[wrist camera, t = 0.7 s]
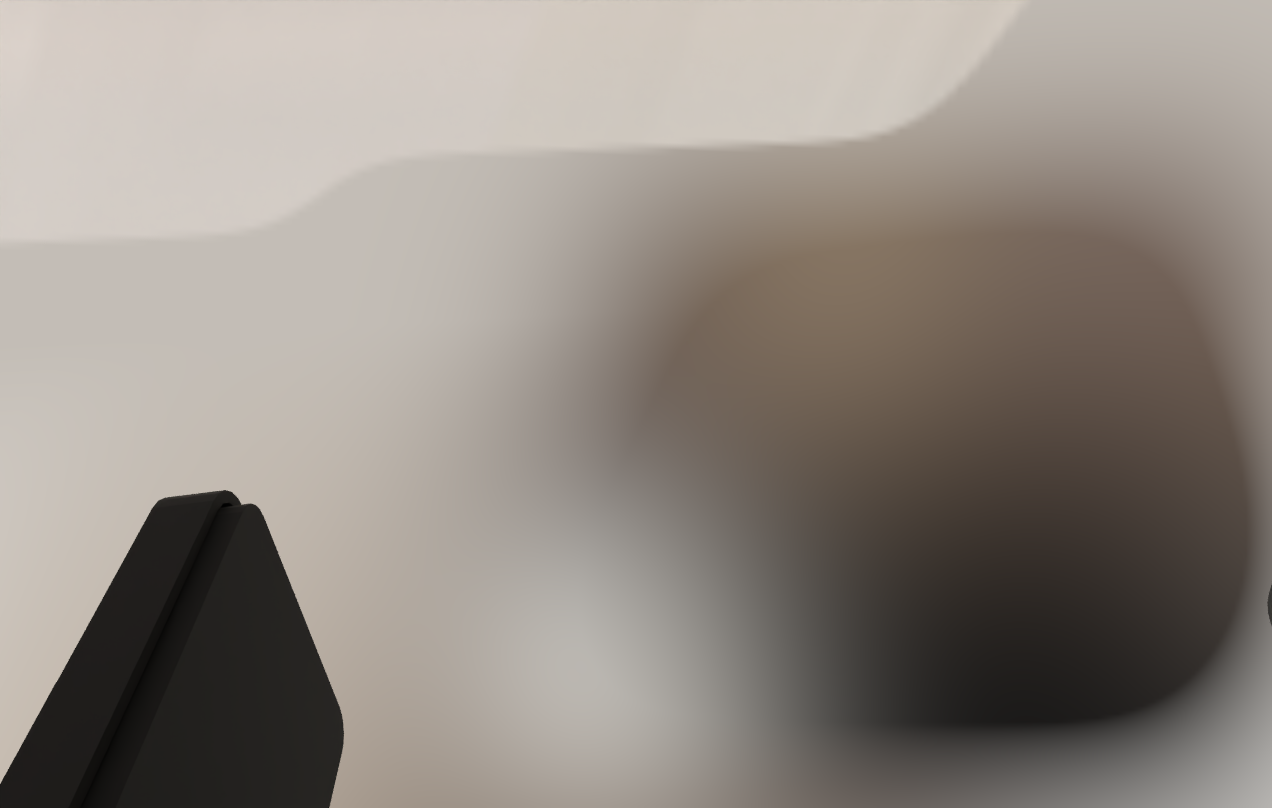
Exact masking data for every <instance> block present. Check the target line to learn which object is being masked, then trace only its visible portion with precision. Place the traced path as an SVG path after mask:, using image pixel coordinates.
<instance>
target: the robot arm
mask: <svg viewBox="0 0 1272 808" xmlns="http://www.w3.org/2000/svg"><path fill="white" fill-rule="evenodd" d="M1268 614H1269V618H1270V622H1271V624H1272V585H1271V589H1270V592H1269V597H1268ZM343 739H344V731H343V719H342V714H341V710H340V707H339V704H338V702H337V699H336V697H335V694H334V692H333V689H332V687H331V685H330V682H329V680H328V677H327V674H326V672H325V670H324V667H323V664H322V662H321V659H320V657H319V654H318V652H317V649H316V647H315V644H314V642H313V639H312V637H311V634H310V632H309V629H308V627H307V624H306V622H305V619H304V617H303V614H302V612H301V609H300V607H299V604H298V602H297V599H296V597H295V594H294V592H293V589H292V587H291V584H290V582H289V579H288V577H287V574H286V572H285V569H284V567H283V564H282V562H281V559H280V557H279V554H278V551H277V549H276V546H275V544H274V542H273V539H272V536H271V534H270V531H269V529H268V526H267V524H266V521H265V519H264V517H263V515H262V513H261V511H260V509H259V508H258V507H257V506H256V505H254V504H244V505H241V503H240V501H239V499H238V498H237V497H236V496H235V495H234V494H233V493H232V492H230V491H226V490H223V491H215V492H207V493H199V494H191V495H183V496H175V497H168V498H164V499H161V500H159V501H158V502H157V503H156V504H155V506H154V507H153V508H152V510H151V512H150V513H149V515H148V517H147V519H146V521H145V522H144V525H143V526H142V528H141V530H140V532H139V533H138V535H137V537H136V539H135V541H134V543H133V544H132V546H131V548H130V550H129V552H128V553H127V555H126V557H125V559H124V561H123V563H122V564H121V566H120V568H119V570H118V572H117V574H116V575H115V577H114V579H113V581H112V583H111V585H110V586H109V588H108V590H107V592H106V593H105V595H104V597H103V599H102V601H101V603H100V605H99V606H98V608H97V610H96V612H95V614H94V616H93V617H92V619H91V621H90V623H89V624H88V626H87V628H86V630H85V632H84V634H83V636H82V637H81V639H80V641H79V643H78V644H77V646H76V648H75V650H74V652H73V654H72V655H71V657H70V659H69V661H68V663H67V664H66V666H65V668H64V670H63V672H62V674H61V675H60V677H59V679H58V681H57V682H56V684H55V685H54V687H53V689H52V691H51V693H50V695H49V696H48V698H47V700H46V702H45V704H44V706H43V707H42V709H41V711H40V713H39V715H38V716H37V718H36V720H35V722H34V724H33V725H32V727H31V729H30V731H29V733H28V735H27V736H26V738H25V740H24V742H23V744H22V745H21V747H20V749H19V751H18V753H17V755H16V757H15V758H14V760H13V762H12V764H11V765H10V767H9V769H8V771H7V773H6V775H5V776H4V778H3V780H2V782H1V784H0V808H329V806H330V802H331V798H332V793H333V789H334V785H335V780H336V776H337V772H338V767H339V763H340V758H341V754H342V749H343Z"/></svg>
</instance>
